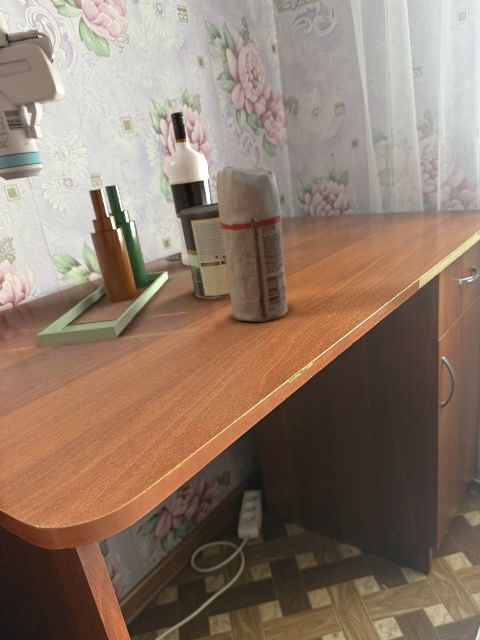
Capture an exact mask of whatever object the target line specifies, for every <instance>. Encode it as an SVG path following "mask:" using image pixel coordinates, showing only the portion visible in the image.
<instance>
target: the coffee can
mask: <svg viewBox="0 0 480 640" xmlns="http://www.w3.org/2000/svg"><path fill="white" fill-rule="evenodd" d="M212 203H213V202H212ZM179 217H180V219H181V223H182V228H183V233H184V238H185V243H186V249H187V254H188V259H189V264H190V265H189V268H190V273H191V274H190V275H191V278H192V284H193V289H194V295H195V296H196V297H198V298H204V299H216V298H225V297H230V293H229V286H228V278H227V267H226V260H225V251H224V250H223V249H224V246H223V239H222V232H221V227H220V217H219V208H218V202H214V203H213V204H207V205H201V206H196V207H192V208H188V209H184V210H182V211H180V212H179Z"/></svg>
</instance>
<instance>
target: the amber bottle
mask: <svg viewBox="0 0 480 640" xmlns="http://www.w3.org/2000/svg"><path fill="white" fill-rule="evenodd" d="M88 193H89V196H90V200H91V204H92V208H93V212H94V216H95V218H92V219H91V222H92V226H93V230H92V231H90V232H89V234H90V237H91V241H92V245H93V249H94V253H95V257H96V260H97V264H98V268H99V272H100V277H101V280H102V282H103V284H104V287H105V291H106V293H105V295H106V299H107V301H108V303H122V302H126V301H127V302H128V301H130V300H134V299H135V298H138V297H139V293H138V289H136V285H135V281H134V276H133V272H132V268H131V264H130V260H129V256H128V251H127V247H126V243H125V239H124V235H123V231H122V227H117V226H116V222H115V218H114V216H109V213H110V212H109V208H108V205H107V200H106V196H105V192H104V189H103V187H102V188H101V187H100V188H94V189H89V190H88ZM103 284H102V285H103Z"/></svg>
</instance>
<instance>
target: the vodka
mask: <svg viewBox="0 0 480 640" xmlns="http://www.w3.org/2000/svg"><path fill="white" fill-rule="evenodd" d="M170 118H171V123H172V128H173V129H172V130H173V135H174V139H175V147H176V150H175V151H174V152H173V153H172V154H171V155H170V157H169V158H168V159H167V161H166V163H165V171H166V175H167V178H168V183H169V187H170V192H171V196H172V197H171V198H172V201H173V206H174V211H175V217H176V224H177V227H178V231H179V240H180V249H181V255H180V256H181V262H182V264H183V265H185V266H190V264H189V259H188V254H187V249H186V243H185V238H184V233H183V228H182V223H181V219H180V217H179V212H180V211H182V210H184V209H188V208H192V207H196V206H201V205H207V204H213V198H212V192H211V186H210V180H209V177H210V174H209V171H208V170H209V169H208V162H207V159H206V157H205V156H204V154H202V153H200V152H198V151H197V150H195V149H193V148H192V147H191V146H190V141H189V136H188V129H187V125H186V119H185V113H184V112H182V111H175V112H173V113H170Z"/></svg>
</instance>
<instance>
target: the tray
mask: <svg viewBox="0 0 480 640" xmlns="http://www.w3.org/2000/svg"><path fill="white" fill-rule="evenodd" d="M147 276H148V280H149V282H152V281H153V282H152V283H151V284H149V285H148V286H149V287H147V288H146V289H145V290H144V291H143V292H142V293H141V294H140V295H139V296H138V297H137V299H136V300H135V301H134V302H133V303H132V304H130V306H128V308H127V309H126V310H125V311H124V312H123V313H122V314H120V316H119V317H118V318H117V319H107V320H99V321H90V322H82V323H81V322H80V323H72V324H70V323H71V322H73V321H74V320H75V319H76V318H77V317H79V315H81V314H82V313H83V312H85V311H86V310H87V309H88V308H89V307H91V306H92V305H93V304H94V303H96V302H97V301H98V300H99V299H100V298H102V297H103V296H104V295H106V291H105V287H104V284H102V285H101V286H99V287H98V288H96V289H95V290H94V291H93V292H91V293H90V294H89V295H87V296H86V297H85V298H84V299H82V300H81V301H79V302H78V303H77V304H76V305H74V306H73V307H72V308H70V309H69V310H67V311H66V312H65V313H63V314H62V315H61V316H60V317H59V318H57V319H56V320H55V321H54V322H52V323H51V324H49V325H48V326H47V327H46V328H44V329H43V330H42V331H39V332H38V334H36V337H37V340H38V343H39V345H40V347H41V348H44V347H51V346H52V347H53V346H61V345H69V344H71V345H72V344H79V343H88V342H89V343H90V342H96V341H97V342H98V341H106V340H117V339H118V338H119V335H120V334H121V333H122V332H123V331H124V329H126V327H127V326H128V325H129V324H130V323H131V321H133V319H134V318H135V316H136V315H137V314H138V313H139V311H140V310H141V309H142V308H143V307H144V306H145V305H146V304H147V302H148V301H149V300H150V299H151V298H152V297H153V296H154V295H155V293H156V292H157V291H158V290H159V289H160V288H161V287H162V286H163V285H164V283H165V282H167V280H168V279H169V274H168V271H167V270H165V271H156V272H147Z"/></svg>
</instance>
